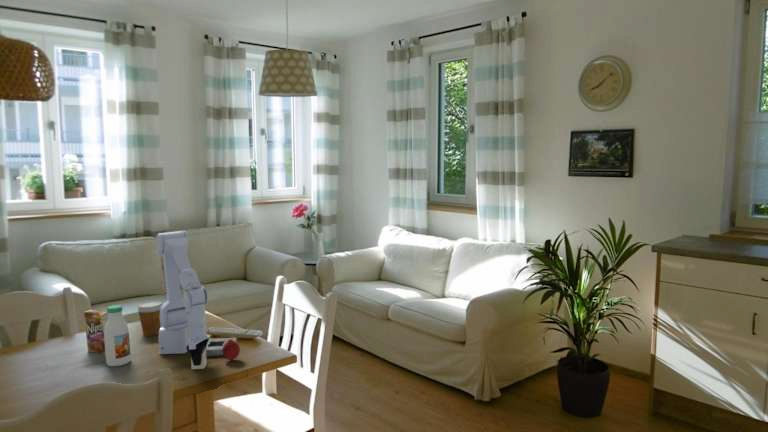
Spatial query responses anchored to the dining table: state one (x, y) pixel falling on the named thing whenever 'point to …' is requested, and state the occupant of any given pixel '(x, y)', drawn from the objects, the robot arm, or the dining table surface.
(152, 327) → the disposable coffee cup
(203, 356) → the plug
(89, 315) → the candy box
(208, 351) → the socket plate
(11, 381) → the dining table surface
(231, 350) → the onion
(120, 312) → the milk bottle
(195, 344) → the robot arm
